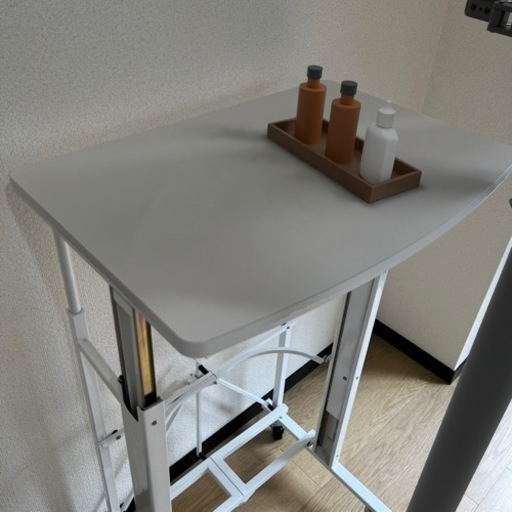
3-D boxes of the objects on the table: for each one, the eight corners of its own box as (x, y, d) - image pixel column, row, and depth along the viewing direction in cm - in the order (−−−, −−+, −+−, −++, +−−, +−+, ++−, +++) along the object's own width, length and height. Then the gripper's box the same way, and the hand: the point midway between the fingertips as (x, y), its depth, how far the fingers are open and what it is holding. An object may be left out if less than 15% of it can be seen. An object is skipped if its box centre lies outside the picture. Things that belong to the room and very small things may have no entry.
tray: (313, 126, 99) (314, 112, 97) (418, 186, 83) (422, 171, 81) (266, 137, 94) (267, 123, 93) (369, 203, 78) (372, 187, 76)
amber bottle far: (309, 131, 96) (317, 61, 89) (325, 140, 93) (335, 69, 86) (288, 136, 94) (295, 65, 86) (304, 146, 91) (313, 73, 84)
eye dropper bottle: (387, 171, 85) (403, 95, 78) (389, 189, 80) (406, 110, 73) (358, 168, 85) (372, 92, 78) (359, 185, 81) (373, 106, 74)
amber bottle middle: (339, 149, 90) (350, 76, 83) (357, 159, 88) (370, 85, 81) (318, 154, 88) (328, 80, 81) (336, 165, 85) (348, 89, 78)
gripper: (715, -14, 48) (546, -44, 58) (634, -2, 41) (459, -38, 51) (672, 72, 52) (522, 30, 63) (593, 96, 45) (439, 45, 56)
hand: (494, 0), depth 57 cm, fingers open, 8 cm apart
